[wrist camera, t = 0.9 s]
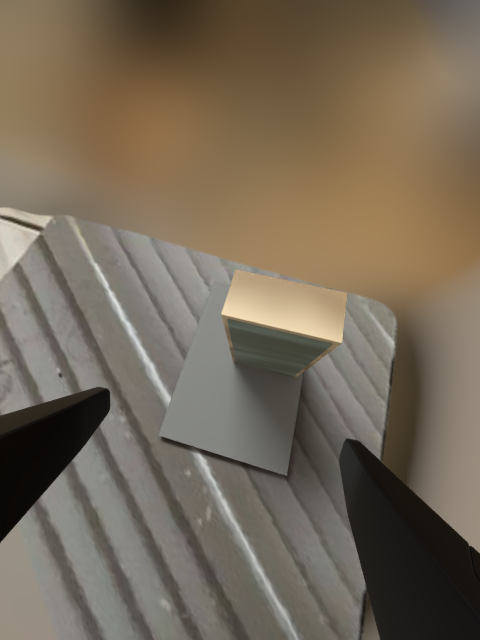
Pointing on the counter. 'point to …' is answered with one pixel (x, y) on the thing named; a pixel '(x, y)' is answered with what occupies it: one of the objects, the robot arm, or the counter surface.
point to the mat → (231, 399)
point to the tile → (281, 322)
